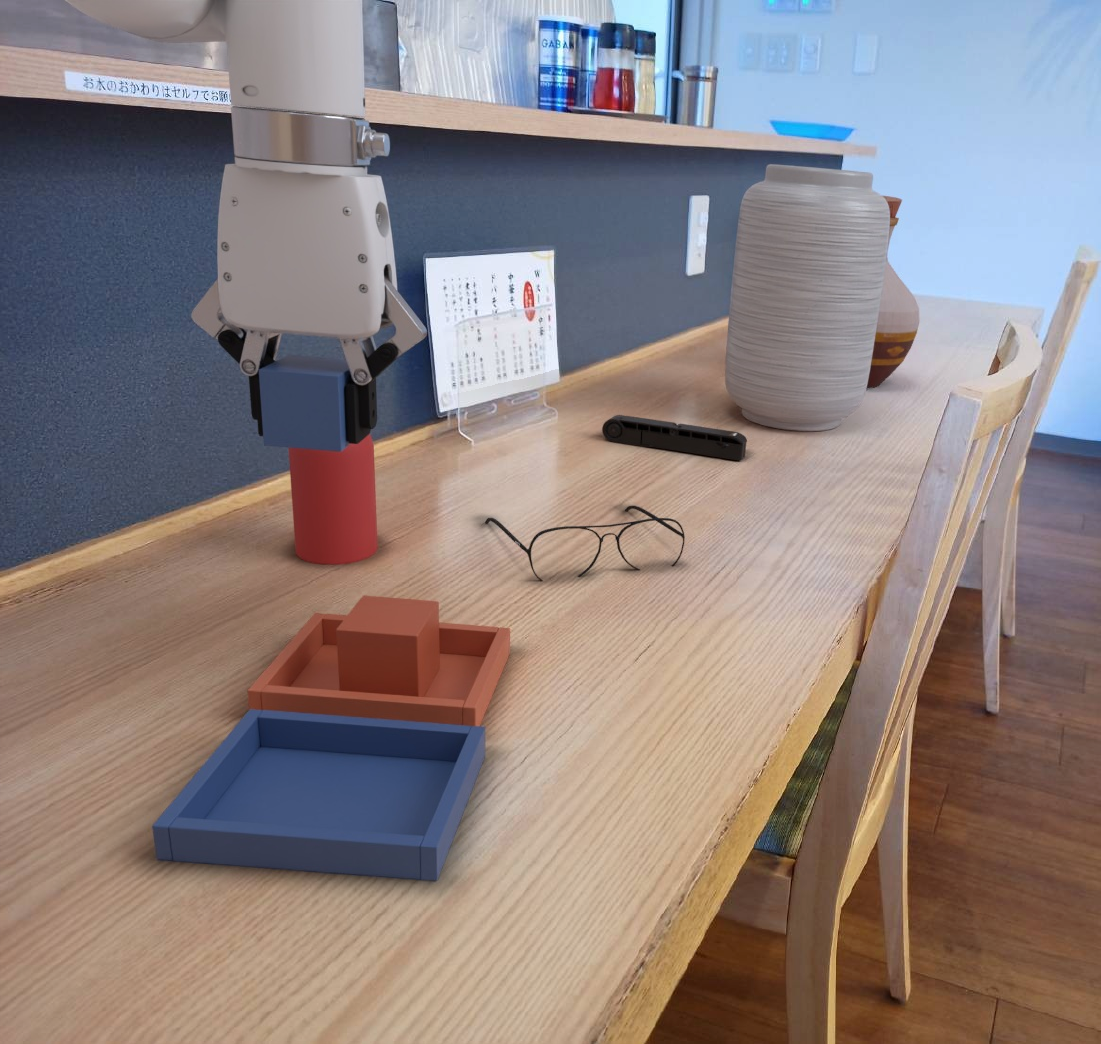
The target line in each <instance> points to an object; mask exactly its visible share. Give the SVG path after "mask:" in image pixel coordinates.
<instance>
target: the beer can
mask: <svg viewBox="0 0 1101 1044" xmlns="http://www.w3.org/2000/svg"><path fill="white" fill-rule="evenodd" d="M287 448H288V447H287ZM288 461H289V463H288V464H289V474H290V475H289V476H290V477H289V479H290V491H291V492H290V493H291V504H292V505H291V506H292V519H293V532H294V533H293V536H294V548H295V549H294V550H295V555H296V556H297V557H298V558H299V559H301V560H303V561H305V562H307V563H311V564H317V565H329V566H331V565H332V566H335V565H347V564H352V563H357V562H361V561H363V560H366V559H368V558H370V557H372V556H373V555H374V554H376V552H377V550H378V548H379V547H378V546H379V545H378V520H377V519H378V518H377V495H376V469H375V466H376V465H375V464H376V463H375V446H374V441H373V438H372V435H371V433H370V434H369V435H368V436H367V437H365V438H364V439H363V440H362V441H361V442H360V443H358V444H350V445H349V446H347V447H346V448H345V449H344V450H343V451H341V452H338V451H325V450H313V449H301V448H288Z"/></svg>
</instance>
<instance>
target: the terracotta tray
mask: <svg viewBox="0 0 1101 1044" xmlns="http://www.w3.org/2000/svg"><path fill="white" fill-rule="evenodd" d="M347 615H348V614H337V613H320V612H315V613H314V614H312V615H311V617H310V618H309V619H308V621H307V622H306V623H304V625H303V626H302V627H301V628H300V630H299V631H297V633H296V634H295V635H294V637H292V639H290V640H289V642H288V643H287V645H285V647H284V648H283V649H282V650H281V651H280V652H279V654H278V655H277V656H276V657H275V658H274V660H273V661H272V662H271V663H270V664H269V665H268V666H267V667H266V669H264V671H263V672H262V673H261V674H260V675H259V677H258V678H257V679H256V680H255V681H254V682H253V684H252V685H251V686H250V687H249V688H248V689H247V698H248V711H249V710H250V709H255V710H271V711H284V712H297V713H310V714H323V715H336V716H349V717H362V718H375V719H388V720H401V721H414V722H427V723H440V724H453V725H466V726H471V727H472V726H480V727H481V724H482V722H483V720H484V717H485V715H486V712H487V710H488V708H489V705H490V703H491V701H492V698H493V696H494V694H495V693H494V692H495V691H496V689H497V686H498V683H499V681H500V679H501V677H502V673H503V671H504V669H505V667H506V664H507V662H508V659H509V656H510V653H511V629H510V627H501V626H500V627H499V626H491V625H490V626H489V625H479V624H478V625H476V624H466V623H465V624H463V623H451V622H450V623H449V622H440V621H439V651H440V668H439V670H438V672H437V674H436V676H435V677H434V679H433V681H432V683H431V685H430V687H429V689H428V690H427V692H426V694H425V696H424V697H415V696H402V695H389V694H377V693H364V692H351V691H340V689H339V672H338V654H337V636H336V629H337V628H338V627H339V625H340V624H341V623H342V622H343V620H344V619H345V618H346V617H347Z"/></svg>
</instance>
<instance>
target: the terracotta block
mask: <svg viewBox="0 0 1101 1044" xmlns="http://www.w3.org/2000/svg"><path fill="white" fill-rule="evenodd" d="M346 615H347V617H346V618H345V619H344V620H343V622H342V623H341V624H340V625H339V627H338V628H337V629H336V636H337V654H338V672H339V689H340V691H351V692H364V693H377V694H389V695H402V696H415V697H424V696H425V694H426V692H427V690H428V689H429V687H430V685H431V683H432V681H433V679H434V677H435V676H436V674H437V672H438V670H439V668H440V651H439V622H440V601H437V600H426V599H414V598H413V599H411V598H401V597H389V596H388V597H387V596H376V595H375V596H374V595H362V596H361V597H360V599H359V600H358V601H357V603H356V604H355V605H354V606H353V608H352V609H351V610H350V612H349V613H348V614H346Z"/></svg>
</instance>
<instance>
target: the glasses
mask: <svg viewBox="0 0 1101 1044" xmlns="http://www.w3.org/2000/svg"><path fill="white" fill-rule="evenodd" d="M632 509H633V510H636V511H638V512H640V513H642V514H644V515H646V516H648V517H649V518H645V519H639V520H634V521H627V522H620V523H612V524H603V525H572V526H571V525H568V526H567V525H566V526H565V525H564V526H557V527H551V528H545V529H544V530H540V531H538V532H537V533H536V534H535V535H534V536H533V537H532V538H531V539H532V540H531V542H530V544H529V547H528V548H527V547H526V546H525V545H524V544H523V543H522V542H521V541H520V540H519V539H518V538H517V537H516V536H515V535H514V534H513V533H512V532H511V531H510V530H509V529H507V527H505V526H504V524H502V523H501V522H500V521H498V519H496V518H494V517H487V518H486V520H485V521H484V523H485V524H489V523H490V522H492V523H494V524H495V525H496V526H497V527H498V528H499V529H500V530H501V531H502V532H503V533H505V535H506V536H507V537H508V538H509V539H511V540H512V542H513V543H515V545H517V546H518V547H519V548H520V549H521V550H522V551H524V552H525V553H526V554H527V557H528V562H529V564H530V567H531V570H532V572H533V574H534V576H535V577H536V578H537V580H539V581H540V582H544V580H543V579H542V578H541V577H539V576H538V575H537V573H536V571H535V569H534V565H533V561H532V549H533V545H534V543H535V541H537V539H538V538H539V537H540V536H542V535H545V534H546V533H547V534H548V533H550V532H554V531H560V530H570V529H572V530H573V529H577V530H578V529H579V530H585V531H589V532H592V533H593V534H595V536H596V537H597V538H598V540H599V544H598V550H597V552H596V554H595V556H594V558H593V560H592V561H591V562H590V564H589V565H588V567H586V568H585V570H584V571H582V572H581V573H580V574H578V575H577V578H581V577H582V576H584V575H585V574H586V573H587V572H589V570H590V569H592V567H593V566H594V564H596V561H598V558H599V555H600V553H601V550H602V543H603V542H604V538H605V537H607V536H614V538H615V541H616V547H617V551H618V552H619V554H620V556H621V558H622V559H623V560H624V562H625V564H627V565H628V566H630V567H631V568H632V569H635V570H637V571H641V569H640V568H638V567H636V566H634V565H633V564H631V563H630V562H629V561H628V560H627V559H626V557H625V555H624V554H623V552H622V550H621V545H620V544H621V543H620V538H621V536H622V535H623V533H624V532H625V531H626V530H627V529H629V528H631V527H633V526H635V525H638V524H642V523H646V522H654V521H655V522H657V523H659V524H660V525H662V526H663V527H664V528H666V529H668V530H669V531H671V532H673V533H674V534H676V535H678V536H679V537H681V539H682V544H681V549H680V552H679V554H678V557H677V558H676V560H675V561H674V562H673V564H672V565H671V567H675V566H676V565H677V563H678V561H679V560H680V559H681V556H682V554H683V551H684V546H685V532H684V528H683V526H682V525H681V523H680V522H679V521H677V520H676V519H673V518H669V517H658V516H656V515H655V514H653V513H651V512H649V511H648V510H646V509H644V508H643V507H640V506H638V505H629V506H627V507H626V508H625V509H624V511H625V512H629V511H631V510H632ZM667 522H673V523H676V525H678V527H679V529H680V530H681V531H680V530H678V529H676V528H675V527H674V526H672V525H671V524H669V523H667ZM619 526H624V527H623V528H622V529H621V530H620V531H619V533H618V534H616V533H613V532H608V533H604V534H603V535H602V536H601V537H600V534H599V533H598V532H596V531H595V530H593V529H592V528H609V527H610V528H611V527H619Z"/></svg>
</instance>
